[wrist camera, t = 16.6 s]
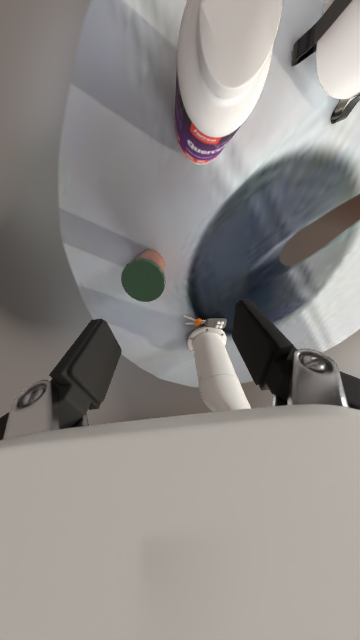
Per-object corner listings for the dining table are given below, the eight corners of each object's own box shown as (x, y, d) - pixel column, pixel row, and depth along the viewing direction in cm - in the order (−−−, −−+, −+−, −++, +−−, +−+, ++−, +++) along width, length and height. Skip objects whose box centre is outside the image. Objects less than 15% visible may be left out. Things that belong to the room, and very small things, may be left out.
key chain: (226, 317, 42) (227, 320, 41) (222, 326, 44) (224, 330, 43) (182, 314, 41) (183, 317, 39) (181, 324, 43) (181, 327, 42)
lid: (117, 260, 22) (114, 263, 21) (161, 255, 22) (160, 257, 21) (131, 299, 26) (129, 304, 25) (168, 295, 26) (167, 299, 25)
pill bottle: (179, 171, 24) (187, 128, 12) (168, 86, 19) (165, -123, 7) (228, 160, 23) (286, 103, 11) (230, 70, 18) (332, -184, 7)
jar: (166, 275, 34) (165, 295, 25) (141, 279, 34) (132, 299, 25) (161, 247, 30) (158, 259, 22) (134, 251, 30) (119, 265, 22)
